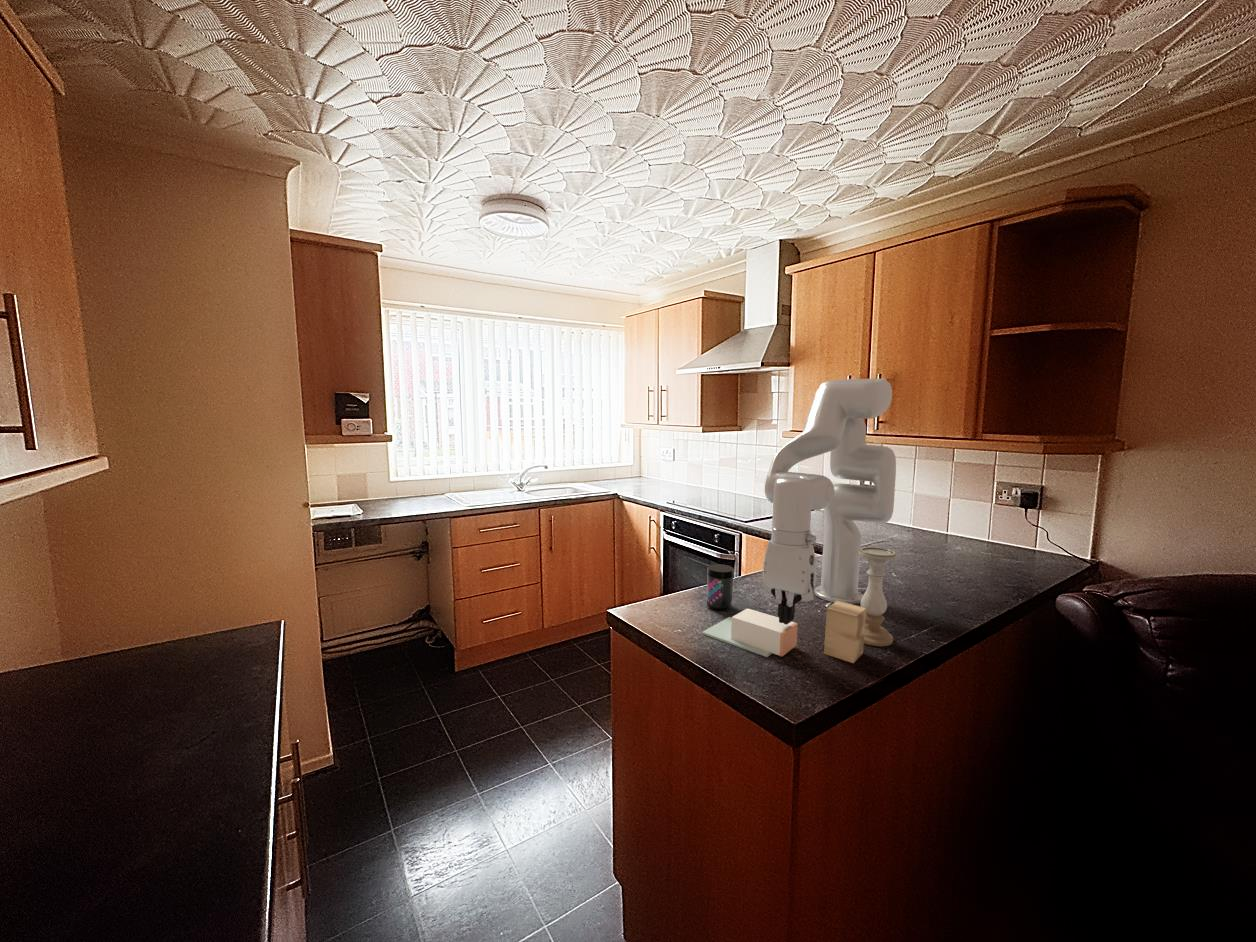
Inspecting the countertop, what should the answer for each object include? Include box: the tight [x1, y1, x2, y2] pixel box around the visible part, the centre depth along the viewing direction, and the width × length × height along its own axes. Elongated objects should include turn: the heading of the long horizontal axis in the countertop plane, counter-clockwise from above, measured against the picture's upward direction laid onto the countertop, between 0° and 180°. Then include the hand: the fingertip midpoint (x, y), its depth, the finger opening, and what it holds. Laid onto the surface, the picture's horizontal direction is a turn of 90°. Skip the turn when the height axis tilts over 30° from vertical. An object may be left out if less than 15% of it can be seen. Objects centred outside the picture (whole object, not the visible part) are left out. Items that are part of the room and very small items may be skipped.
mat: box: [701, 616, 773, 658], centre depth 114 cm, size 12×16×1 cm
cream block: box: [731, 608, 799, 657], centre depth 110 cm, size 7×5×12 cm
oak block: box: [823, 601, 866, 664], centre depth 106 cm, size 6×6×10 cm
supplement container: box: [706, 563, 735, 612], centre depth 131 cm, size 7×7×10 cm
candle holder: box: [859, 546, 897, 647], centre depth 113 cm, size 9×9×20 cm
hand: (785, 621), depth 107 cm, fingers closed
